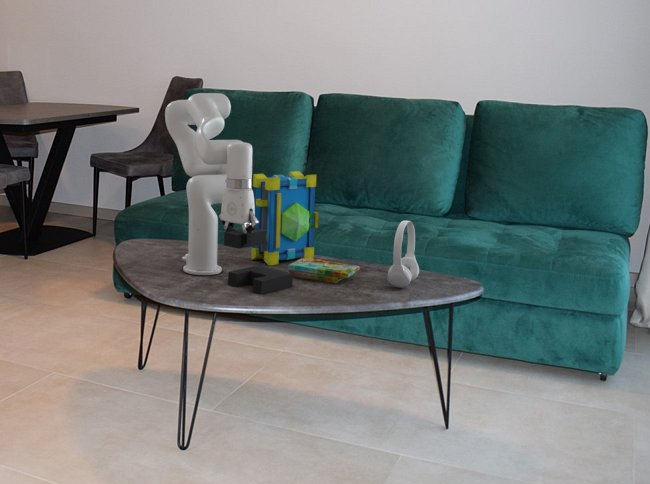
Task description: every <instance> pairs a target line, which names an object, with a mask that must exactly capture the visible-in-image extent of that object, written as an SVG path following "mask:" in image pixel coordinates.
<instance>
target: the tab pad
mask: <svg viewBox="0 0 650 484" xmlns="http://www.w3.org/2000/svg"><path fill="white" fill-rule="evenodd" d="M242 233H244V232H243V228H241V229H235V231H228V232H226V231H224V232H223V246H225V247H230V248H233V249H244V248H250V247H253V246H256V245H261V244H266V230H261V229H256V228H255V229H254V230H253V232H252V233H251V245H250V246H247V247H242Z"/></svg>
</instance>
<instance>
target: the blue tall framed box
mask: <svg viewBox="0 0 650 484" xmlns="http://www.w3.org/2000/svg"><path fill="white" fill-rule="evenodd" d="M316 187H317V174H306V175H305V176H304V174H303V173H302V172H300V170H298V171H297V170H295V171H289V175H284V174H274V175H272V176H266V175H265V174H264V173H252V188H253V195H254V204H255V217H256V218H257V220H258V222H259V224H258V225H257V226H256V227H255V228H256V229H261V230H266V244H261V245H256V246H251V254H250V255H251V257H250V260H251V261H253V260H262V259H263V262H265V263H266V264H267V267H269V266H276V265H279V263H280V262H279V261H282V260H285V261H288V260H289V261H290V260H294V259H296V258H308V259H314V258H315V246H314V242H315V241H314V240H315V239H314V238H315V237H314V236H315V235H314V234H315V232H314V231H315V228H316V229H319V213H320V212H319V211H315V205H316V204H315V203H316Z"/></svg>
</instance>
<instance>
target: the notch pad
mask: <svg viewBox="0 0 650 484" xmlns="http://www.w3.org/2000/svg"><path fill="white" fill-rule="evenodd" d="M227 276H228V277H227V285H229V286H233V287H235V288H237V287H240V286H244V285H249V284H251V285H252V292H253V293H255V294H259V295H263V294H268V293H271V292H276V291H279V290H280V291H281V290H283V289H288V288H292V287H293V285H294V277H293V274H292V273H290V272H289V271H284V270H280V269H278V268H277V269H276V268H273V267H269V266H264V265H262V264H258V265H252V266H248V267H244V268H239V269H234V270H230V271H228V273H227Z"/></svg>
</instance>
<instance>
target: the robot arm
mask: <svg viewBox="0 0 650 484" xmlns="http://www.w3.org/2000/svg"><path fill="white" fill-rule="evenodd" d="M231 111H232V105H231V101H230V99H229V97H228V96H227V95H225V94H224V93H220V92H213V93H212V92H199V93H194V94H192V95H191V96H189V97H188V99H177V100H173V101H171V102H170V103H168V104H167V106H166V107H165V110H164V117H165V118H164V120H165V125H166V129H167V131H168V133H169V135H170V137H171V138H172V140H173V142H174V143H175V145H176V148H177V151H178V155H179V157H180V161H181V164H182V167H183V170H184V172H185V174H186V175H187V176H189V177H190V178H189V179H188V181H187V182H186V188H185V189H186V198H187V205H188V241H187V243H188V247H187V248H188V249H187V253H186V254H184V256H182V257H181V260H182V261H183V262H185V265H184V266H183V268H182V271H183V272H184V273H186V274H190V275H194V276H214V275H218V274H220V273H221V272H223V268H222V266H220V265H218V243H219V242H218V240H219V237H218V236H219V235H218V234H219V219H220V221H221V223H222V225H223V229H224V230H225V232H228V231H235V230H236V229H235V227H234V226H235V224H237V225H241V229H243V232H244V233H242V247H245V248H248V247H247V246H250V245H251V233H252V232H253V230H254V229H255V227H256V226H257V225H258V224H259V222H258V220H257V218H256V217H255V204H254V189H253V145H252V144H251V143H250V142H245V141H243V140H240V139H213V138H215V137H216V136H217V137H218V136H219V135H220V134H221V132H222V131H223V130H224V128H225V120H226V119H227V118H228V117H229V116H230V114H231ZM192 125H194V126H196V127H197V128H196V130H194V129H193V128H191V127H190V126H192ZM216 204H217V205H218V204H221V210H220V213H219V215H218V214H217V212H216V211H215V210H214V208H213V207H212V205H216ZM250 247H251V246H250Z"/></svg>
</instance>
